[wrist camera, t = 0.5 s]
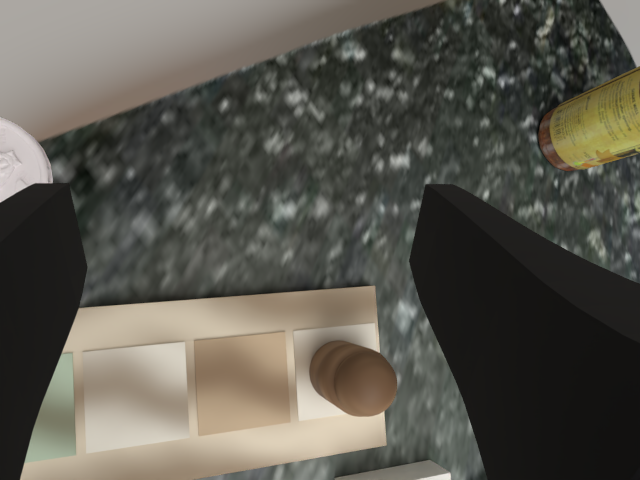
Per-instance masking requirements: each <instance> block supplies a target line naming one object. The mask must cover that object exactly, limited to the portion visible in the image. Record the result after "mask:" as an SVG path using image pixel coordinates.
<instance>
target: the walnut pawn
mask: <svg viewBox="0 0 640 480" xmlns="http://www.w3.org/2000/svg"><path fill="white" fill-rule="evenodd" d="M309 375H310V381H311V384H312V386H313V388H314V389H315V391H316V392H317V393H318V394H319V395H320V396H322V397H323V398H324V399H326V400H327V401H329V402H330V403H332V404H333V405H335V406H336V407H338V408H339V409H341V410H342V411H343V412H345V413H347V414H349V415H351V416H356V417H370V416H375V415H378V414H380V413H382V412H383V411H385V410H386V409H387V408H388V407H389V406H390V405H391V403H392V402H393V400H394V398H395V395H396V392H397V378H396V374H395V372H394V370H393V368H392V366H391V365H390V364H389V362H388V361H387V360H386V359H385V358H384V357H383V356H382V355H381V354H380V353H379V352H377V351H375V350H373V349H370V348H366V347H363V346H360V345H356V344H353V343H350V342H346V341H341V340H337V341H331V342H328V343H326V344H324V345H323V346H322V347H320V348H319V349H318V350H317V352H316V353H315V354H314V356H313V358H312V360H311V363H310V369H309Z"/></svg>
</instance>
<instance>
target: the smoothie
mask: <svg viewBox="0 0 640 480" xmlns="http://www.w3.org/2000/svg"><path fill="white" fill-rule="evenodd" d="M35 183H53V177H52V170H51V164H50V162H49V160H48V157H47V155H46V153H45V151H44V149H43V148H42V147H41V145H40V144H39V143H38V142H37V141H36V139H35V138H34V137H33V136H32V135H30V134H29V133H28V132H26V131H25V130H24V129H22V128H21V127H20V126H18V125H16V124H15V123H13V122H11V121H9V120H7V119H5V118H2V117H0V202H2V201H4V200H5V199H7V198H9V197H10V196H12V195H14V194H15V193H17V192H19V191H21V190H22V189H24V188H26V187H28V186H30V185H32V184H35Z"/></svg>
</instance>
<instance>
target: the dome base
mask: <svg viewBox="0 0 640 480" xmlns="http://www.w3.org/2000/svg"><path fill="white" fill-rule="evenodd" d="M334 480H451V475H450V472H448V471H447V470H445V469H444V468H442V467H441V466H439V465H438V464H436V463H434V462H433V461H431V460H426V461H421V462H416V463H411V464H405V465H400V466H395V467H390V468H384V469H379V470H374V471H368V472H363V473H358V474H353V475H347V476H342V477H337V478H334Z"/></svg>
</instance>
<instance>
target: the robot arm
mask: <svg viewBox="0 0 640 480" xmlns="http://www.w3.org/2000/svg"><path fill="white" fill-rule="evenodd" d="M409 262H410V266H411V270H412V274H413V278H414V282H415V285H416V289H417V292H418V296H419V299H420V301H421V304H422V306H423V309H424V311H425V313H426V315H427V318H428V320H429V322H430V325H431V327H432V329H433V331H434V334H435V336H436V338H437V340H438V342H439V345H440V347H441V349H442V351H443V354H444V356H445V358H446V360H447V363H448V365H449V367H450V369H451V371H452V374H453V376H454V378H455V380H456V383H457V385H458V388H459V390H460V393H461V395H462V398H463V401H464V403H465V407H466V410H467V413H468V416H469V419H470V422H471V425H472V428H473V432H474V435H475V438H476V441H477V444H478V448H479V451H480V455H481V458H482V461H483V465H484V468H485V472H486V475H487V479H488V480H640V284H639V283H636V282H634V281H631V280H629V279H627V278H624V277H622V276H620V275H618V274H615V273H613V272H611V271H609V270H607V269H604V268H602V267H600V266H598V265H596V264H593V263H591V262H589V261H587V260H585V259H583V258H581V257H579V256H577V255H575V254H573V253H571V252H569V251H568V250H566V249H564V248H562V247H560V246H558V245H557V244H555V243H553V242H551V241H549V240H547V239H546V238H544V237H542V236H540V235H539V234H537V233H535V232H533V231H532V230H530V229H528V228H527V227H525V226H523V225H522V224H520V223H518V222H517V221H515V220H513V219H512V218H510V217H509V216H507V215H505V214H504V213H502V212H500V211H499V210H497V209H496V208H494V207H492V206H491V205H489V204H488V203H486V202H484V201H483V200H481V199H479V198H478V197H476V196H474V195H473V194H471V193H469V192H467V191H466V190H464V189H462V188H460V187H458V186H455V185H453V184H426V185H425V190H424V194H423V199H422V204H421V208H420V213H419V218H418V222H417V227H416V231H415V236H414V241H413V245H412V250H411V255H410V259H409ZM86 272H87V263H86V259H85V254H84V250H83V245H82V241H81V236H80V232H79V227H78V223H77V218H76V214H75V209H74V205H73V200H72V196H71V191H70V187H69V183H35V184H32V185H30V186H28V187H26V188H24V189H22V190H21V191H19V192H17V193H15V194H14V195H12V196H10V197H9V198H7V199H5V200H4V201H2V202H0V480H20V478H21V474H22V470H23V466H24V462H25V459H26V455H27V451H28V447H29V444H30V440H31V436H32V432H33V429H34V425H35V423H36V420H37V417H38V414H39V411H40V408H41V405H42V402H43V400H44V397H45V395H46V392H47V390H48V387H49V384H50V382H51V379H52V377H53V374H54V372H55V369H56V367H57V364H58V361H59V359H60V356H61V354H62V351H63V349H64V346H65V344H66V341H67V338H68V336H69V333H70V331H71V328H72V325H73V323H74V320H75V317H76V315H77V312H78V309H79V305H80V300H81V296H82V292H83V287H84V282H85V277H86Z"/></svg>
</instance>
